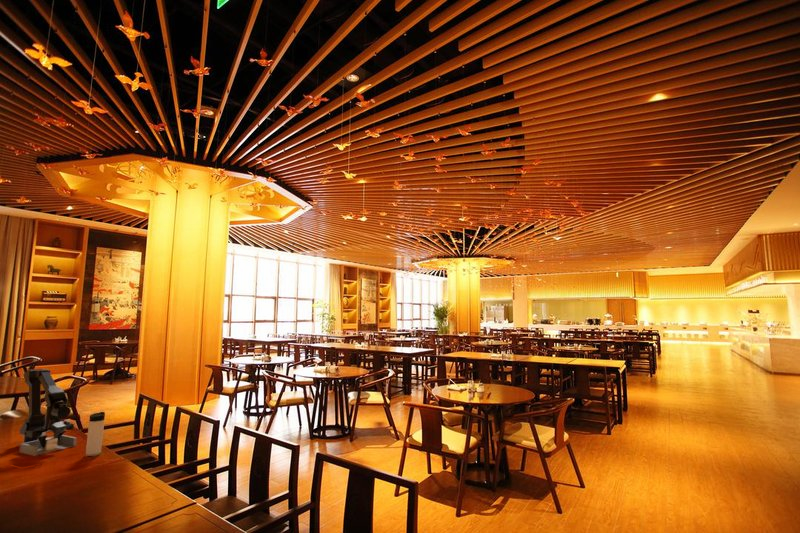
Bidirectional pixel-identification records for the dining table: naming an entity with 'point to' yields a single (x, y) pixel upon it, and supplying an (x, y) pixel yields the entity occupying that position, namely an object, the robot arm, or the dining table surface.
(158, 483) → the dining table surface
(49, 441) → the birch block
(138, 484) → the dining table surface
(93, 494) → the dining table surface
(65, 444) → the slate box
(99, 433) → the travel mug
